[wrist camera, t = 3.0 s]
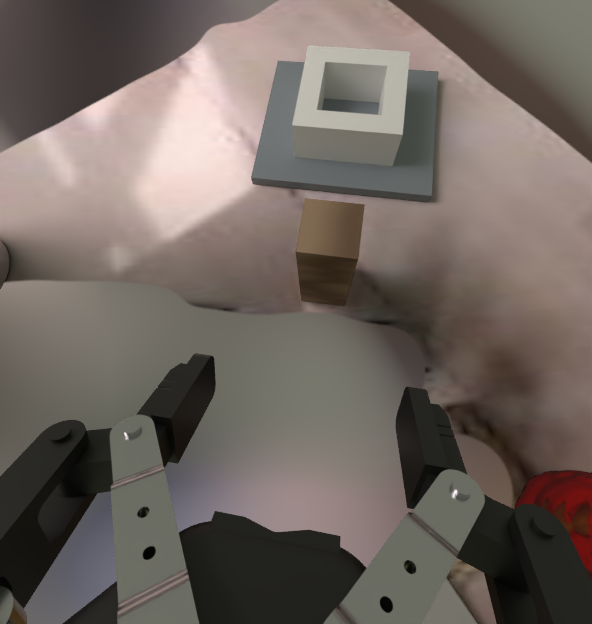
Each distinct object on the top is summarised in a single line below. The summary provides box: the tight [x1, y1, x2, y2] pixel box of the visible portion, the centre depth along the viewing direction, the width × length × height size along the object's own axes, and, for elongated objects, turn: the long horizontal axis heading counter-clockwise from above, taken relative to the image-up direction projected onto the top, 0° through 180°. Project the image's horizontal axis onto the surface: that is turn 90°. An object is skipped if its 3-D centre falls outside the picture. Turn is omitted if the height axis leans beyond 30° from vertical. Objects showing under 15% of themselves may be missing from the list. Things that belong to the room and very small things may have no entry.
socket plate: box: [251, 46, 438, 202], centre depth 34 cm, size 18×16×5 cm
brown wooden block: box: [296, 198, 364, 306], centre depth 26 cm, size 4×4×10 cm
